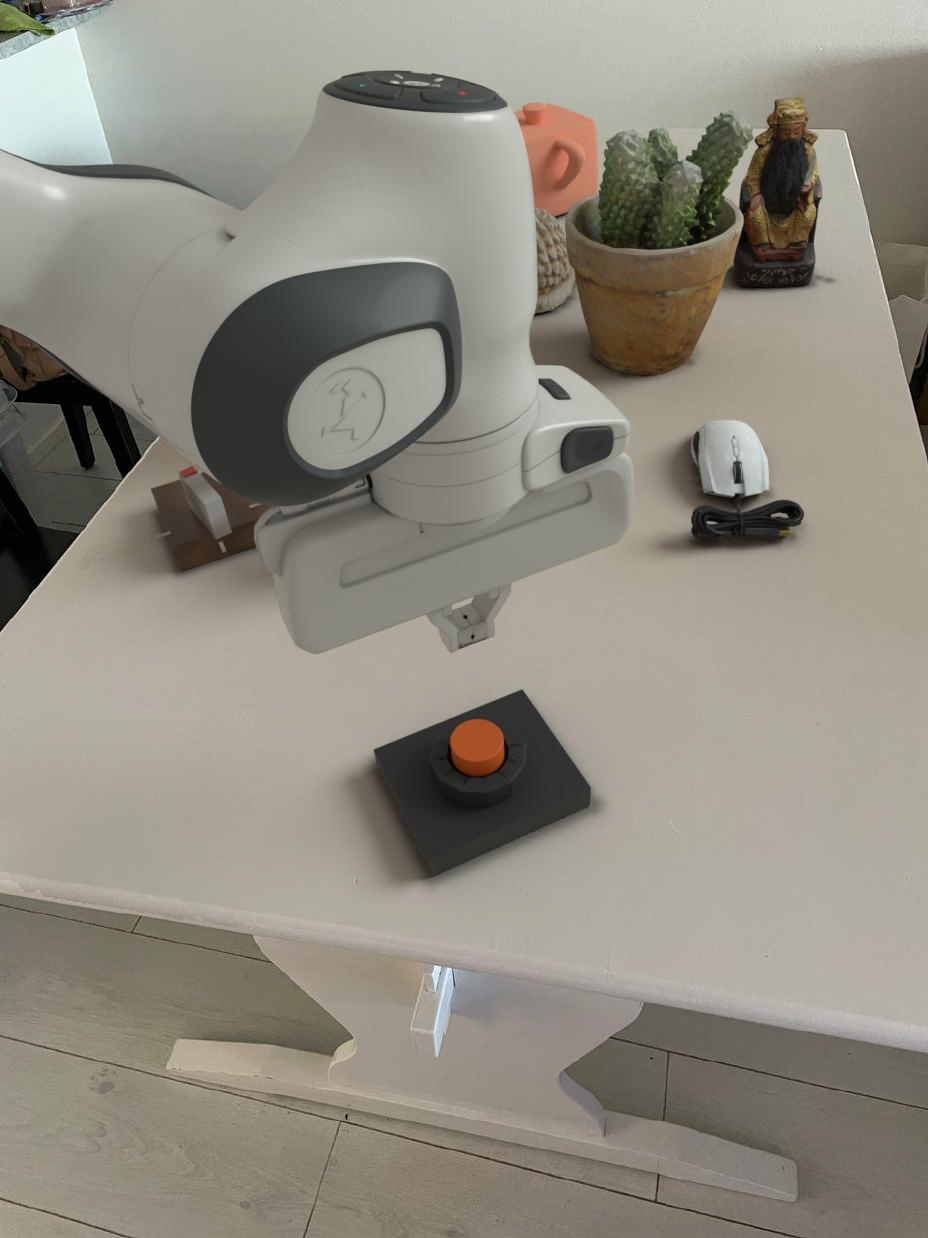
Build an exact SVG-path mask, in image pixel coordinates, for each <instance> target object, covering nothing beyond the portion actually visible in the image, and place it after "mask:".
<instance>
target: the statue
mask: <svg viewBox="0 0 928 1238" xmlns="http://www.w3.org/2000/svg"><path fill="white" fill-rule="evenodd" d="M773 109H774V110H773V111H772V112H771V113H770V114H769V115H768V116H767V118H766V123H767V125H768V126H769V127H768V128H767V129H765V130H764V131H763V132H761V133H759V134H758V135H757V136H755V137H754V143H755V145H756V146H757V148H756V149H755V150H754V153H753V155H752V156H751V159H750V162H749V166H748V168H747V172H746V175H745V176H744V178H743V179H742V181H741V184H740V192H739V202H738V203H739V204H738V208H739V209H740V210H741V212H742V214H743V216H744V223H743V227H742V231H741V234H740V238H739V242H738V245H737V248H736V252H735V256H734V260H733V264H732V265H733V274H734V279H735V282H736V283H737V284H738V285H740V286H742V287H745V288H787V287H800V286H803V287H804V286H807V285H810V284H811V282H812V278H813V275H814V270H815V266H816V251H815V235H816V230H817V223H818V215H819V214H818V213H819V206H820V202H821V200H823V186H822V180H821V177H820V175H819V174H818V171H819V169H818V168H819V166H818V161H817V160H818V159H817V158H818V157H817V153H816V149H815V147H814V144H815V143H816V142H817V140H818V138H819V135H818V133H816V132H814V131H812V130H809V129H808V128H807V124H808V121H809V116H810V115H809V112H807V108H806V106H805V98H804V97H803V96H795V97H786V98H785V97H784V98H777V99H775V100H774V108H773Z"/></svg>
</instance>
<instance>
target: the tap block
mask: <svg viewBox="0 0 928 1238" xmlns="http://www.w3.org/2000/svg"><path fill="white" fill-rule="evenodd" d="M199 473H200V474H201V475H202V476H203V477H204V479H205V480H206V481H207V482H208V483H209V484H210V485H211V486H212V488H213V489H214V490H215V491H216V492H217V493H218V494H219V496H220V497H221V499H222V502H223V505H224V508H225V512H226V515H227V518H228V521H229V524H230V528H231V531H232V533H230V534H227V535H225V536H223V537H221V538H218V539H215V538H214V537H213V535H212V534H211V533H210V532H209V531H208V529H207V528H206V527H205V526H204V524H203V523H202V522H201V521H200V520H199V518H198V517H197V516H196V515H195V514H194V512H193V511H192V510H191V509H190V507H189V504H188V501H187V498H186V495H185V492H184V490H183V487H182V484H181V481H180V479H178V480H174V481H171V482H168V483H164V484H161V485H158V486H154V487H152V488H150V491H151V494H152V496H153V499H154V502H155V504H156V507H157V510H158V513H159V515H160V517H161V521H162V523H163V526H164V528H165V532H162V533H159V534H156V535H154V537H155V539H156V540H158V539H161V538H164V537H168V539H169V541H170V545H171V547H172V549H173V553H174V555H175V557H176V558H175V559H176V561H177V562H178V565H179V568H180V571H181V572H184V571H187V570H191V569H193V568H196V567H197V568H198V567H200V566H203V565H205V564H208V563H212V562H215V561H217V560H221V559H224V558H227V557H230V556H232V555H236V554H238V553H240V552H245V551H248V550H250V549H253V548H257V547H256V544H255V541H254V527H255V524H256V522H257V521H258V520H259V518H260V517H261V516H262V514H263V513H264V512H265V511H267V510H268V509H269V508H271V507H272V506H269V505H263V504H258V503H255V502H251V501H249V500H246V499H244V498H242V497H240V496H238V495H236V494H234V493H233V492H231V491H230V490H228V489H227V488H226V487H224V486H223V485H222V484H220V483H219V482H217V481H216V480H214V479H213V478H212V477H210V476H209V475H208V474H206V473H205V472H204V471H202V472H199ZM277 514H279V513H277Z"/></svg>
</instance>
